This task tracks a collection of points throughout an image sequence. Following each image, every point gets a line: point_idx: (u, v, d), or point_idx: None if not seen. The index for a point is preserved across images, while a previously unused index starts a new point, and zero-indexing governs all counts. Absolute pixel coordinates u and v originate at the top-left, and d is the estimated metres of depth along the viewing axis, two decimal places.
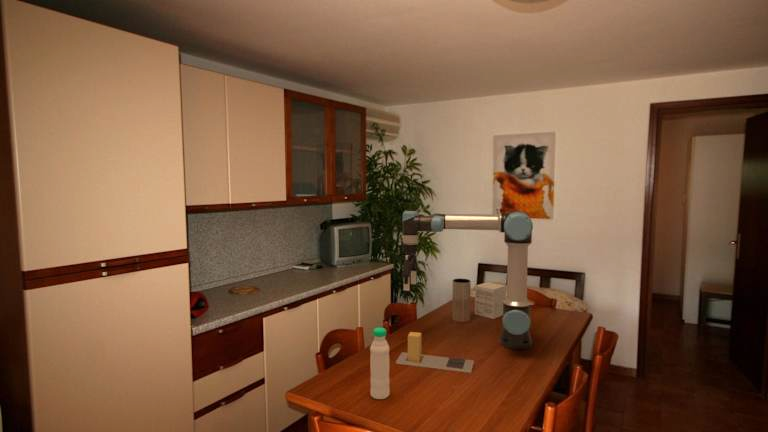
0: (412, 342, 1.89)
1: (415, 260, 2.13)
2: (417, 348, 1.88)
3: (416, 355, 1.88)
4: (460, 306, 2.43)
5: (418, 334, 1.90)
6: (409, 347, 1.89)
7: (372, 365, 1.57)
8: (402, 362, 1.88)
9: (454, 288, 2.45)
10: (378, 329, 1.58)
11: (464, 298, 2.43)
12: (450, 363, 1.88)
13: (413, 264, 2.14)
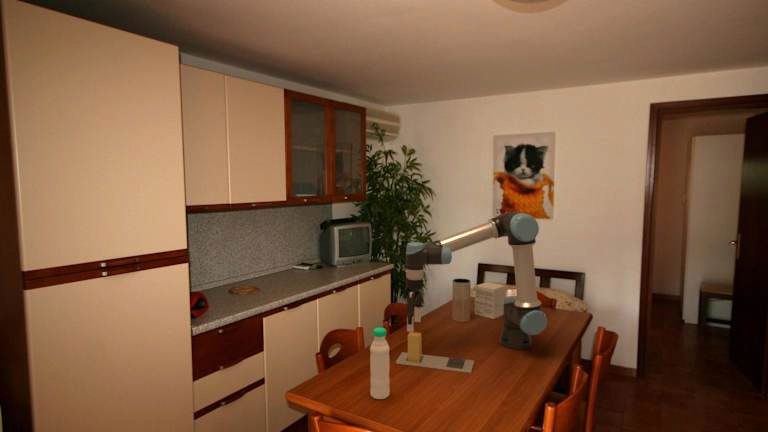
0: (411, 342, 1.89)
1: (420, 296, 1.93)
2: (417, 348, 1.88)
3: (416, 355, 1.88)
4: (460, 306, 2.43)
5: (418, 334, 1.90)
6: (409, 347, 1.89)
7: (372, 365, 1.57)
8: (402, 362, 1.88)
9: (454, 288, 2.45)
10: (378, 329, 1.58)
11: (464, 298, 2.43)
12: (450, 363, 1.88)
13: (417, 300, 1.93)
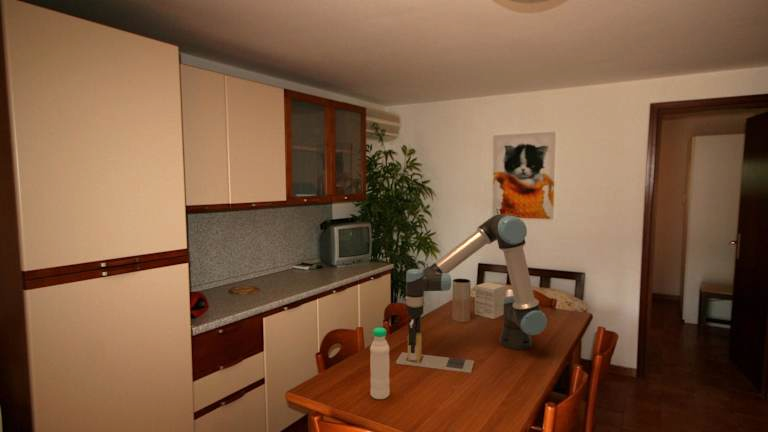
0: None
1: (419, 325, 1.92)
2: (417, 348, 1.88)
3: (416, 355, 1.88)
4: (460, 306, 2.43)
5: (418, 334, 1.90)
6: (409, 347, 1.89)
7: (372, 365, 1.57)
8: (402, 362, 1.88)
9: (454, 288, 2.45)
10: (378, 329, 1.58)
11: (464, 298, 2.43)
12: (450, 363, 1.88)
13: (416, 330, 1.92)
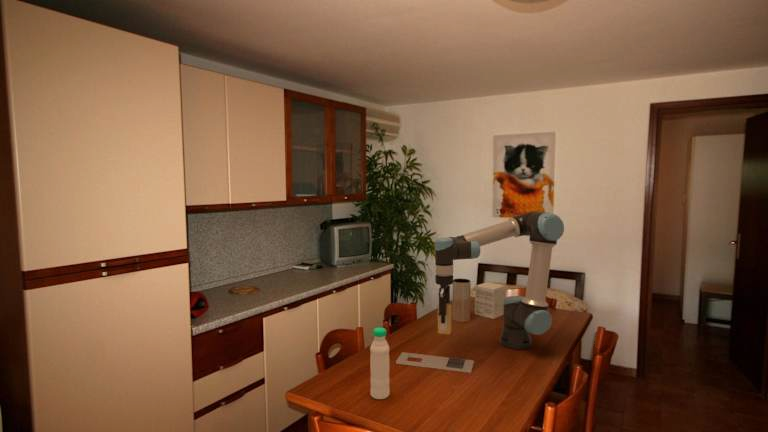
0: None
1: (449, 295, 1.87)
2: (447, 318, 1.83)
3: None
4: (460, 306, 2.43)
5: (448, 304, 1.86)
6: (439, 317, 1.84)
7: (372, 365, 1.57)
8: (402, 362, 1.88)
9: (454, 288, 2.45)
10: (378, 329, 1.58)
11: (464, 298, 2.43)
12: (450, 363, 1.88)
13: (446, 300, 1.88)
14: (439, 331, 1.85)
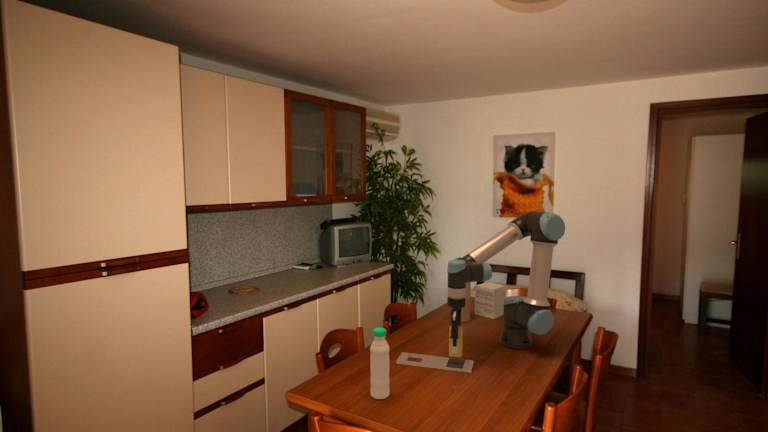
0: None
1: (460, 318, 1.87)
2: (459, 341, 1.82)
3: (458, 348, 1.83)
4: None
5: (460, 327, 1.85)
6: (451, 340, 1.83)
7: (372, 365, 1.57)
8: (402, 362, 1.88)
9: None
10: (378, 329, 1.58)
11: None
12: (450, 363, 1.88)
13: (458, 322, 1.87)
14: (450, 354, 1.84)
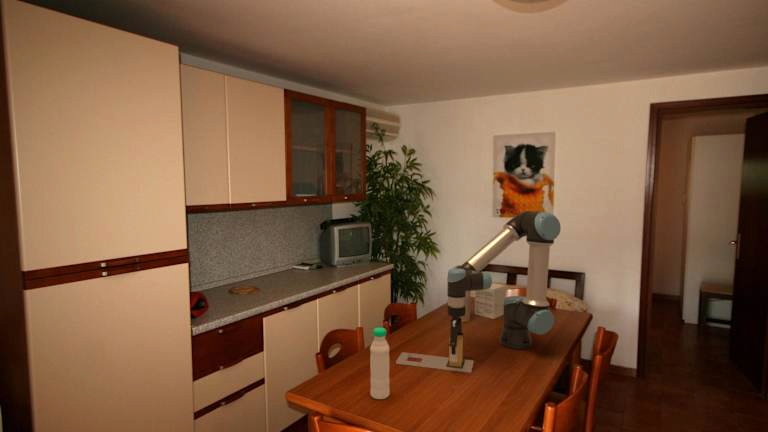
0: None
1: None
2: (459, 352, 1.83)
3: (458, 359, 1.83)
4: None
5: (460, 338, 1.85)
6: None
7: (372, 365, 1.57)
8: (402, 362, 1.88)
9: None
10: (378, 329, 1.58)
11: None
12: None
13: (458, 328, 1.89)
14: (450, 365, 1.84)
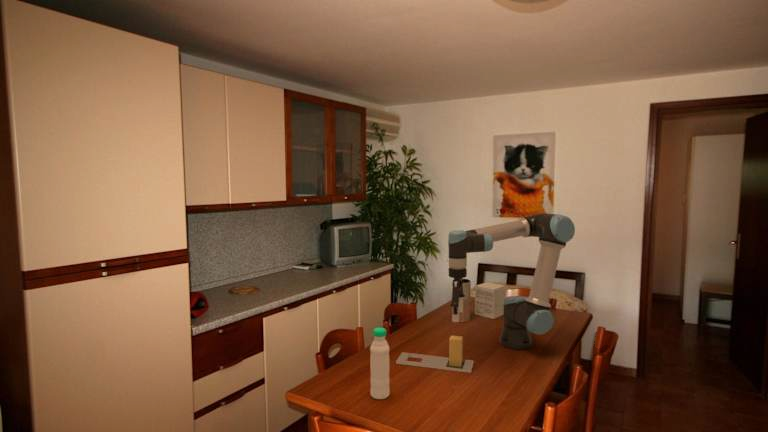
0: (453, 346, 1.83)
1: (462, 286, 1.88)
2: (459, 352, 1.83)
3: (458, 359, 1.83)
4: None
5: (460, 338, 1.85)
6: (451, 351, 1.84)
7: (372, 365, 1.57)
8: (402, 362, 1.88)
9: None
10: (378, 329, 1.58)
11: (464, 298, 2.43)
12: None
13: None
14: (450, 365, 1.84)
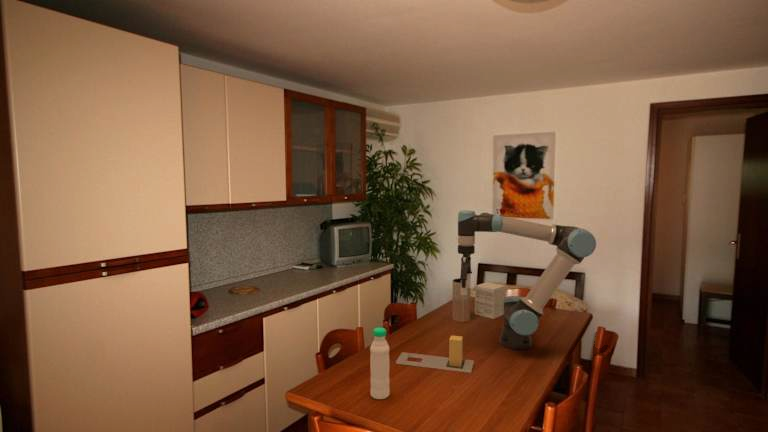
0: (453, 346, 1.83)
1: (470, 262, 2.01)
2: (459, 352, 1.83)
3: (458, 359, 1.83)
4: (460, 306, 2.43)
5: (460, 338, 1.85)
6: (451, 351, 1.84)
7: (372, 365, 1.57)
8: (402, 362, 1.88)
9: (454, 288, 2.45)
10: (378, 329, 1.58)
11: (464, 298, 2.43)
12: None
13: (468, 267, 2.02)
14: (450, 365, 1.84)
